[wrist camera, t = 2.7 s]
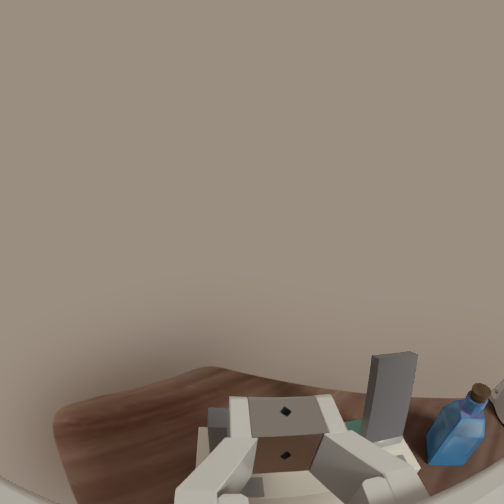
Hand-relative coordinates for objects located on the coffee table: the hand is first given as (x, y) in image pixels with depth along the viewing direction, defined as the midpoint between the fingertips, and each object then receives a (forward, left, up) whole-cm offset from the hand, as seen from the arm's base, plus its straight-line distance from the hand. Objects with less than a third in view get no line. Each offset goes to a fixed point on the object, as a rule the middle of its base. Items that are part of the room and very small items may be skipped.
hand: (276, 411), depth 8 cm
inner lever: (-20, -4, -19) cm, 28 cm away
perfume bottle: (-33, +3, -27) cm, 42 cm away
